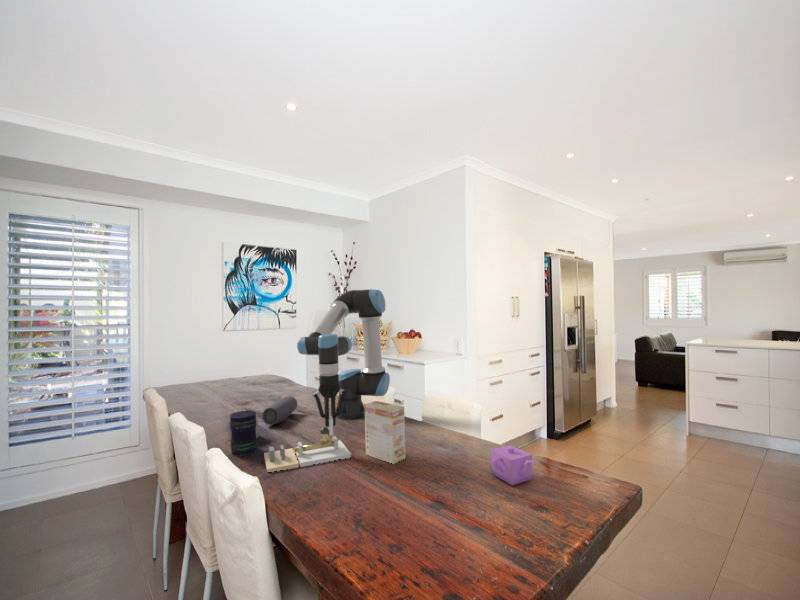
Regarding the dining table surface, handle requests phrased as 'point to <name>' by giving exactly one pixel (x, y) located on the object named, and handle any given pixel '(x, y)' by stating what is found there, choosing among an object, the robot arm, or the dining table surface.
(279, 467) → the door lock
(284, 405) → the bluetooth speaker
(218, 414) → the dining table surface
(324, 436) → the bolt
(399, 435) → the coffeecake box
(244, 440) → the dark blue barrel
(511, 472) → the purple knobbed block
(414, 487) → the dining table surface
